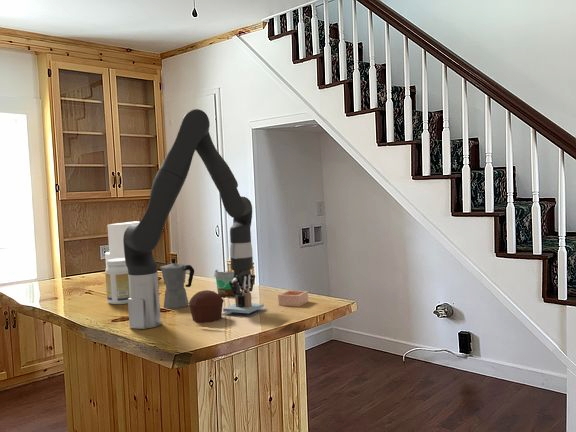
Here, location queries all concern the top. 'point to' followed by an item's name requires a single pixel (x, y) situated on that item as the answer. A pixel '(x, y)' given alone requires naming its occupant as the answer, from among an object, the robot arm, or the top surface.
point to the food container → (224, 283)
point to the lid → (248, 305)
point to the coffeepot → (176, 284)
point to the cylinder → (116, 240)
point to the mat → (244, 313)
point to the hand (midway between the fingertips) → (243, 305)
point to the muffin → (206, 306)
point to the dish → (293, 298)
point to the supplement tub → (117, 281)
